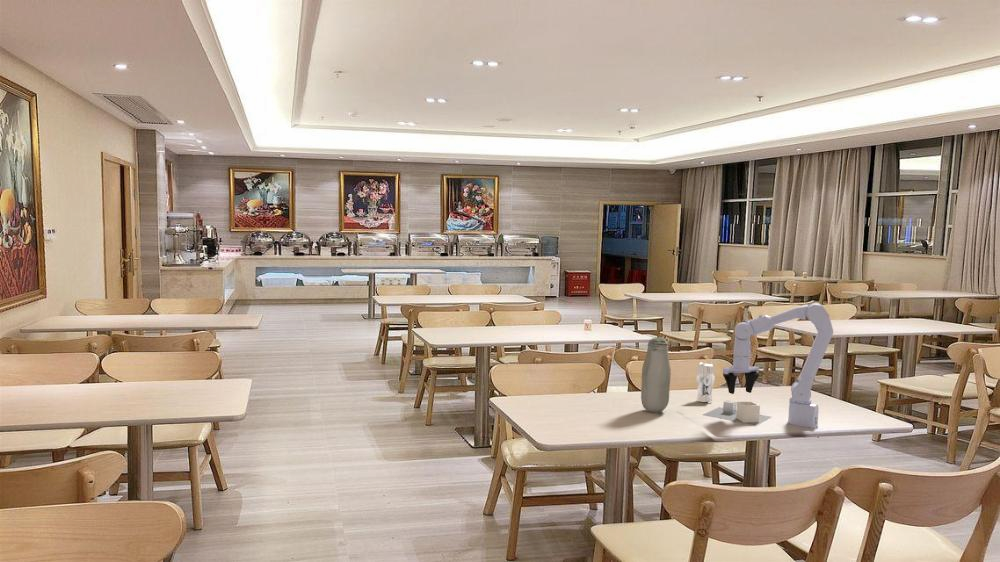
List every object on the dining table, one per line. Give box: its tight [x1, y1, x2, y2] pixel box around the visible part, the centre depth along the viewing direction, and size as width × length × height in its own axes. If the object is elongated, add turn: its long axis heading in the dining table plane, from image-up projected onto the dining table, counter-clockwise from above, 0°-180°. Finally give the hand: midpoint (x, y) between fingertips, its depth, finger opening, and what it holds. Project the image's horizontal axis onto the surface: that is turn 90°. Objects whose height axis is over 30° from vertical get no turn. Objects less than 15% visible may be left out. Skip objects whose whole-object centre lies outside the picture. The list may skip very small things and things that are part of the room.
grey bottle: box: [640, 336, 672, 413], centre depth 272 cm, size 10×10×28 cm
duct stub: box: [722, 399, 738, 414], centre depth 270 cm, size 4×4×5 cm
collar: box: [736, 401, 761, 423], centre depth 260 cm, size 6×6×6 cm
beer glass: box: [696, 362, 716, 403], centre depth 292 cm, size 7×7×15 cm
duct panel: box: [702, 406, 772, 426], centre depth 266 cm, size 20×16×1 cm
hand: (740, 392), depth 265 cm, fingers open, 7 cm apart
